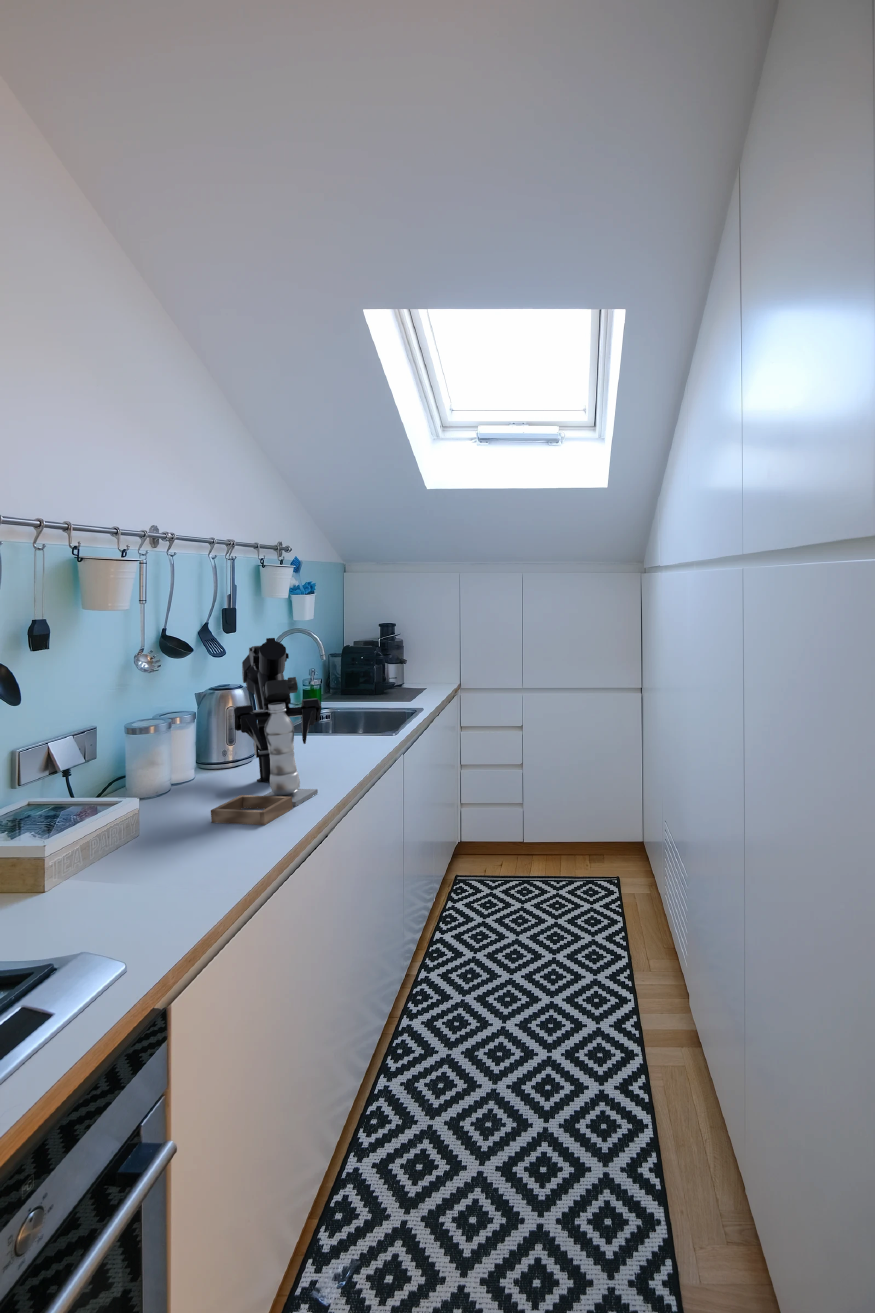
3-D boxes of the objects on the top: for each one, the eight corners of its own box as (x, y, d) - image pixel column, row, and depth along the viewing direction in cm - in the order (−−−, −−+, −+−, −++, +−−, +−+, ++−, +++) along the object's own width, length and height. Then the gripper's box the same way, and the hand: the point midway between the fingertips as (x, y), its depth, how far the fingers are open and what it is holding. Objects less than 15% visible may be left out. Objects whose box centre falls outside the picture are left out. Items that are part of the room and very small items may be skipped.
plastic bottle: (301, 788, 168) (292, 699, 165) (301, 796, 161) (291, 704, 159) (271, 792, 166) (262, 702, 164) (270, 800, 160) (260, 707, 158)
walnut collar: (211, 822, 149) (210, 810, 149) (242, 806, 160) (241, 795, 160) (265, 825, 146) (264, 812, 145) (292, 808, 156) (291, 796, 156)
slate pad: (254, 805, 161) (253, 800, 160) (277, 792, 170) (277, 788, 170) (296, 806, 157) (295, 801, 157) (317, 793, 167) (317, 789, 167)
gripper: (230, 669, 162) (238, 728, 153) (316, 662, 168) (329, 718, 159) (230, 701, 170) (238, 759, 161) (313, 693, 176) (325, 748, 167)
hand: (283, 745), depth 161 cm, fingers open, 9 cm apart
